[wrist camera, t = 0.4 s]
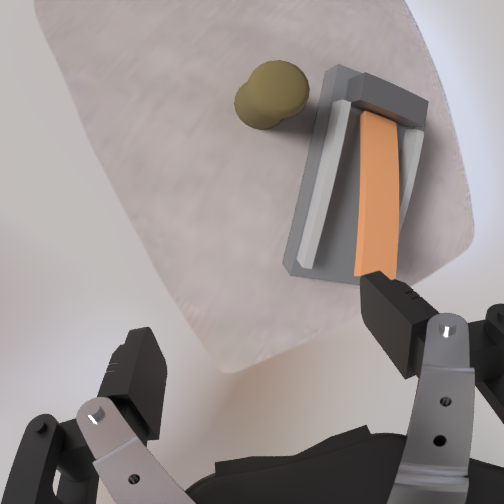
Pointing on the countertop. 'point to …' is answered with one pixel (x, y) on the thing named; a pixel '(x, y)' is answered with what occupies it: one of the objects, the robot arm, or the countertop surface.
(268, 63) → the olive pawn figure
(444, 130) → the countertop surface
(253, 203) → the countertop surface
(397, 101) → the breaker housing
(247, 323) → the countertop surface
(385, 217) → the lever
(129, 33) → the countertop surface
